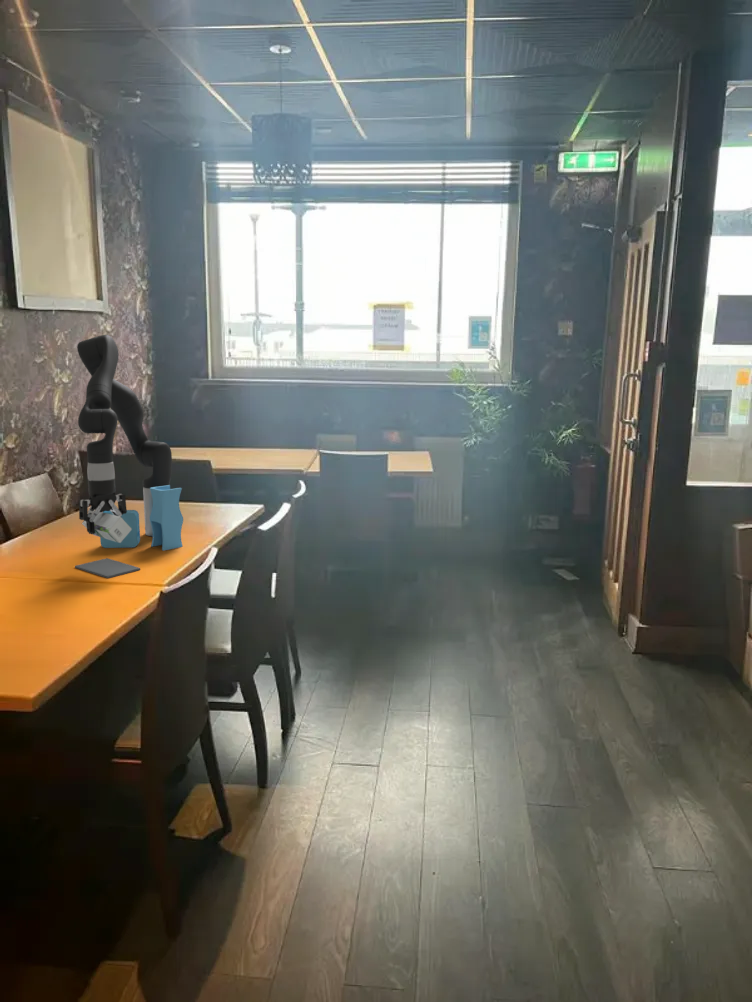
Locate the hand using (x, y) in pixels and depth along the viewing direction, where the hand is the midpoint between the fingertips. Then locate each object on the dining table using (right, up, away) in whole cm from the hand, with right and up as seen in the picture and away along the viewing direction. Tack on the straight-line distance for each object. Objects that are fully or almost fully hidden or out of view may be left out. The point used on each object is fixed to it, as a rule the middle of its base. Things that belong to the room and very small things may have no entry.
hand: (104, 531), depth 219 cm
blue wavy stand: (+11, -7, +29) cm, 31 cm away
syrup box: (+7, +1, -5) cm, 9 cm away
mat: (0, -11, +2) cm, 12 cm away
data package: (-5, -6, +28) cm, 30 cm away
